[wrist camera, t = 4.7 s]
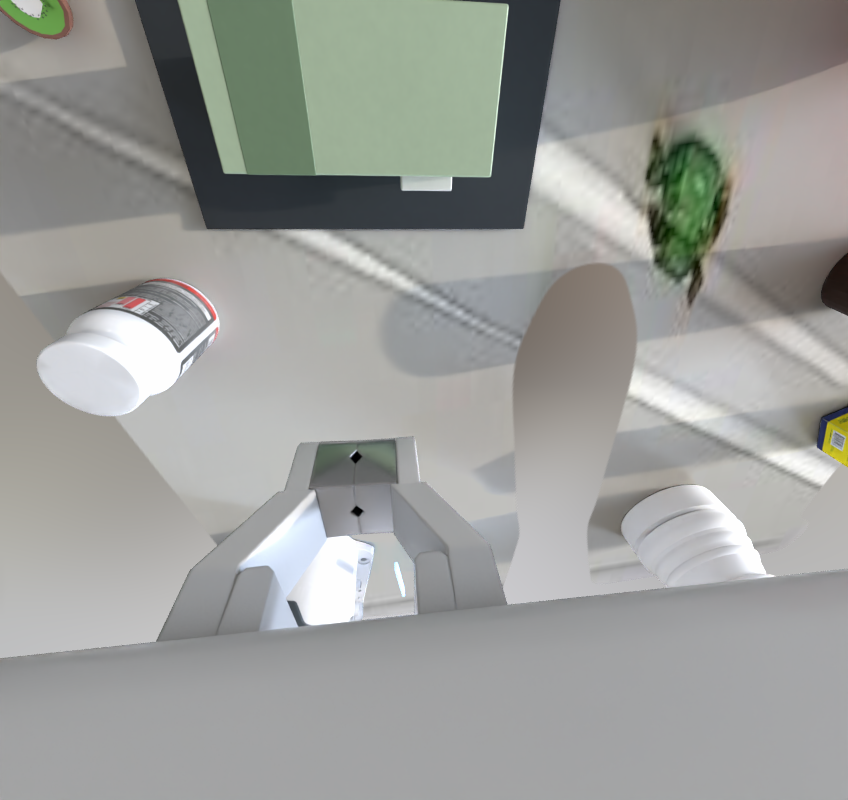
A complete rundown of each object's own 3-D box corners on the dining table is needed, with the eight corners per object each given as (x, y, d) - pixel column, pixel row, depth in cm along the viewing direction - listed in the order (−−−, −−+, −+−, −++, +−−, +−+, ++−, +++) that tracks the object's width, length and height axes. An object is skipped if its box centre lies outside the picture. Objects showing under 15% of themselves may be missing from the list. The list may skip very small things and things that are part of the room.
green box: (458, 188, 23) (489, 197, 16) (275, 186, 22) (228, 194, 15) (466, 58, 19) (509, 2, 13) (247, 48, 18) (171, -20, 12)
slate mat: (521, 227, 25) (523, 228, 25) (209, 227, 23) (206, 228, 23) (608, -321, 14) (614, -332, 13) (10, -413, 12) (-1, -429, 11)
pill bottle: (125, 273, 24) (-6, 327, 16) (211, 278, 25) (127, 332, 17) (154, 347, 27) (57, 423, 19) (229, 349, 28) (166, 424, 20)
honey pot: (703, 528, 52) (831, 673, 37) (619, 550, 53) (710, 699, 38) (721, 474, 44) (890, 627, 30) (622, 500, 45) (737, 660, 31)
